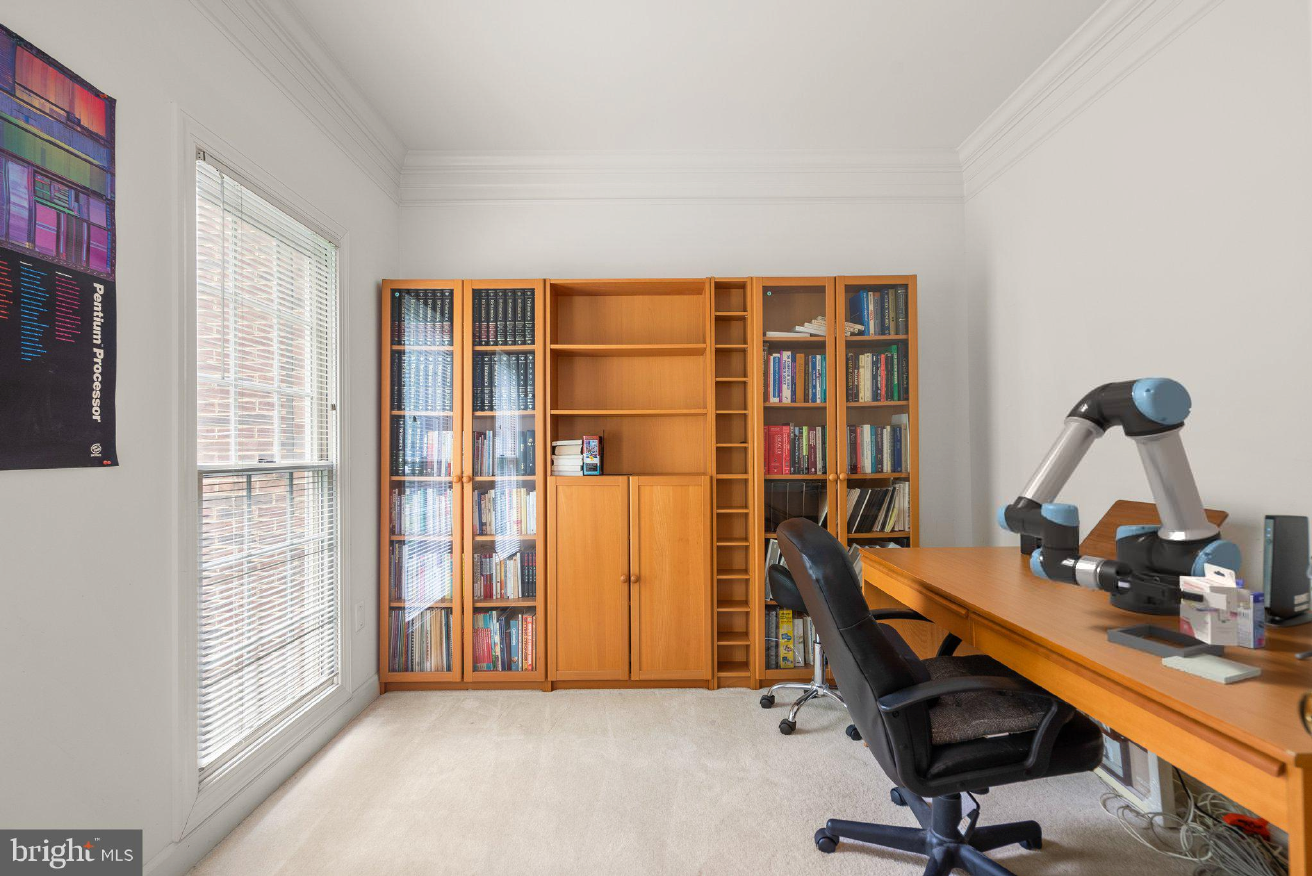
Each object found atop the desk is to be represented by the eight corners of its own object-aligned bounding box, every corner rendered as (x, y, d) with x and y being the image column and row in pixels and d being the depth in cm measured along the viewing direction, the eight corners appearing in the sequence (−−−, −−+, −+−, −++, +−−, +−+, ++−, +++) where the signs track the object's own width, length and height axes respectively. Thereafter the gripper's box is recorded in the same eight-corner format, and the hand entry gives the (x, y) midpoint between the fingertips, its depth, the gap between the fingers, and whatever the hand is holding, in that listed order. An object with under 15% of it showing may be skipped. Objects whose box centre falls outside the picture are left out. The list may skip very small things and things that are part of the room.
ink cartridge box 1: (1178, 630, 117) (1177, 561, 118) (1205, 632, 116) (1205, 562, 117) (1209, 645, 109) (1208, 570, 109) (1239, 647, 108) (1238, 571, 108)
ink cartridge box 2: (1267, 646, 125) (1266, 582, 125) (1255, 650, 123) (1254, 584, 123) (1209, 633, 134) (1208, 573, 134) (1197, 636, 132) (1196, 575, 132)
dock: (1147, 633, 134) (1147, 623, 134) (1224, 654, 121) (1224, 642, 121) (1107, 640, 129) (1107, 630, 129) (1183, 663, 116) (1183, 651, 116)
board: (1197, 656, 119) (1197, 651, 119) (1260, 674, 110) (1260, 668, 110) (1162, 664, 115) (1161, 658, 115) (1224, 684, 106) (1224, 677, 106)
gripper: (1131, 586, 134) (1263, 612, 113) (1078, 596, 125) (1211, 626, 104) (1130, 555, 134) (1263, 575, 113) (1078, 563, 125) (1211, 586, 104)
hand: (1238, 599), depth 109 cm, fingers closed on ink cartridge box 1, 9 cm apart
